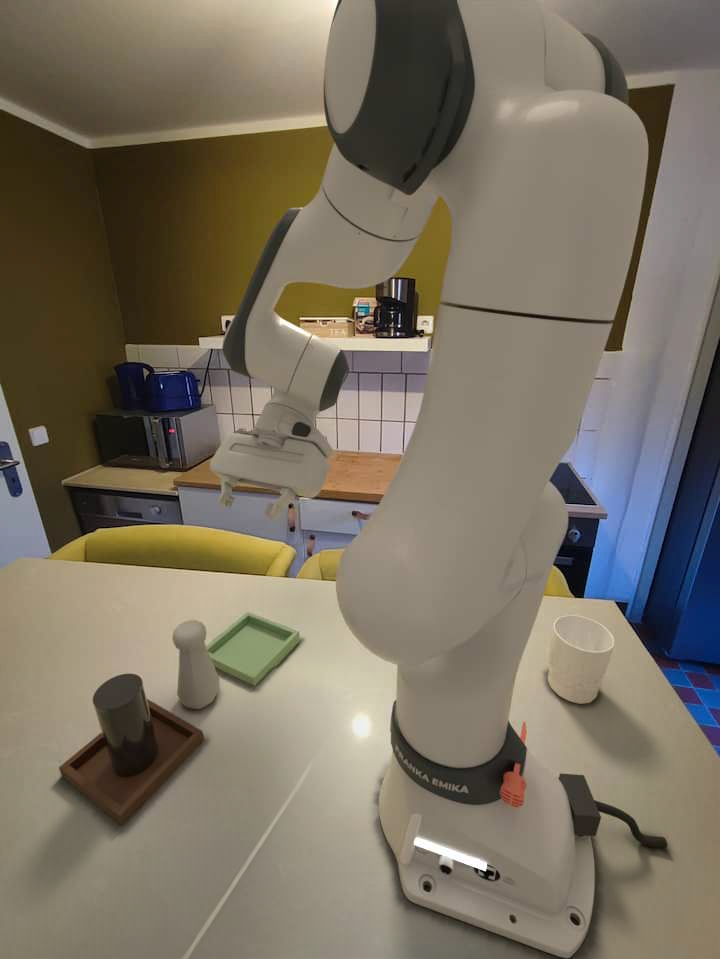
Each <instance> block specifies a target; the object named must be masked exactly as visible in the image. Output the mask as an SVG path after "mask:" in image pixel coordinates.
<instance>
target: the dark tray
mask: <svg viewBox="0 0 720 959" xmlns="http://www.w3.org/2000/svg"><path fill="white" fill-rule="evenodd" d="M147 702H148V707H149V711H150V715H151V719H152V723H153V728H154V732H155V736H156V740H157V744H158V753H157V756H156V758H155V760H154V761H153V763H152V764H151V765H150V766H149V767H148V768H147V769H145V770H144V771H143V772H141V773H139V774H137V775H135V776H131V777H120V776H118V775H116V774H115V773H114V771H113V769H112V765H111V762H110V759H109V755H108V752H107V748H106V745H105V742H104V738H103V735H102V732H100V733H99V734H98V735H96V736H95V737H94V738H93V739H92V740H90V741H89V742H88V743H87V744H85V745H84V746H83V747H82V748H80V749H79V750H78V751H77V752H76V753H74V754H73V755H72V756H71V757H69V758H68V759H67V760H66V761H65V762H63V763H62V764H61V765H60V766H59V767H58V770H59V774H60V775H61V777H62V778H63V779H64V780H65V781H66V782H67V783H69V784H70V785H72V787H74V788H75V789H76V790H77V791H79V792H80V793H82V795H83V796H84V797H86V798H88V800H90V801H91V802H92V803H93V804H95V805H96V806H97V807H99V808H100V809H101V810H102V811H104V812H105V813H106V814H107V815H108V816H110V817H111V818H112V819H113V820H114V821H116V822H117V823H118V824H119V825H120V826H124V825H125V824H126V823H127V822H128V821H129V819H131V818H132V816H134V814H135V813H137V811H138V810H139V809H140V808H141V807H142V806H143V805H144V804H145V803H146V802H147V801H148V800H149V799H150V798H151V797H152V795H154V793H155V792H156V791H157V790H159V788H160V787H161V786H162V785H163V784H164V783H165V782H166V781H167V779H169V778H170V776H171V775H172V774H173V773H174V772H175V771H176V770H177V769H178V768H179V767H180V766H181V765H182V764H183V763H184V762H185V761H186V759H187V758H189V756H190V755H191V754H192V753H193V752H194V751H195V750H196V749H197V748H198V747H199V746H200V745H201V744H202V743H203V742H204V740H205V737H204V732H203V730H202V729H200V728H198V727H196V726H194V725H193V724H192V723H189V722H188V721H186V720H184V719H182V718H181V717H180V716H177V715H175V714H174V713H173V712H170V711H169V710H167V709H165V708H163V707H162V706H161V705H159V704H157V703H155V702H153V701H152V700H150V699H148V698H147Z"/></svg>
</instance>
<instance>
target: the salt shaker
mask: <svg viewBox="0 0 720 959" xmlns="http://www.w3.org/2000/svg"><path fill="white" fill-rule="evenodd" d="M206 639H207V628H206V626H205V624H204V623H203V622H201V621H199V620H197V619H195V620H193V619H190V620H187V621H184V622H181V623H180V624H178V626H177V627H176V628H175V629H174V630H173V633H172V642H173V645H174V647H175V648H176V649H177V650H179V652H178V674H177V688H176V689H177V691H176V695H177V697H178V700H179V701H180V703H181V704H182V705H183V706H184V707H185V708H189V709H192V710H201V709H203V708H205V707H207V706H209V705H210V704H212V703H214V700H215V698H216V696H217V694H218V692H219V690H220V677H219V675H218V672H217V670H216V667H214V665H213V662H212V660H211V657H210V655H209V653H208V650H207V648H206V646H207V645H206V643H205V641H206Z"/></svg>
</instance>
